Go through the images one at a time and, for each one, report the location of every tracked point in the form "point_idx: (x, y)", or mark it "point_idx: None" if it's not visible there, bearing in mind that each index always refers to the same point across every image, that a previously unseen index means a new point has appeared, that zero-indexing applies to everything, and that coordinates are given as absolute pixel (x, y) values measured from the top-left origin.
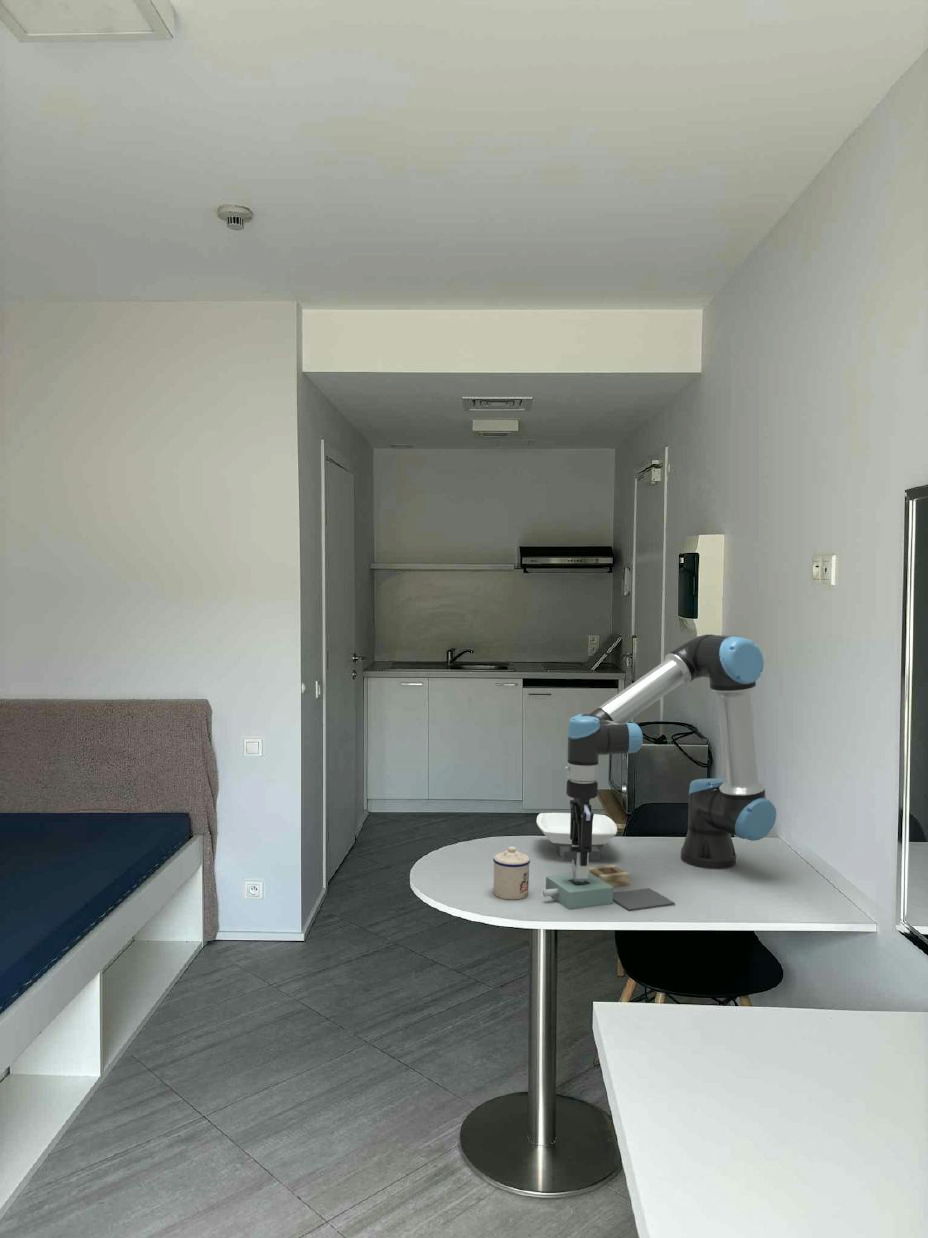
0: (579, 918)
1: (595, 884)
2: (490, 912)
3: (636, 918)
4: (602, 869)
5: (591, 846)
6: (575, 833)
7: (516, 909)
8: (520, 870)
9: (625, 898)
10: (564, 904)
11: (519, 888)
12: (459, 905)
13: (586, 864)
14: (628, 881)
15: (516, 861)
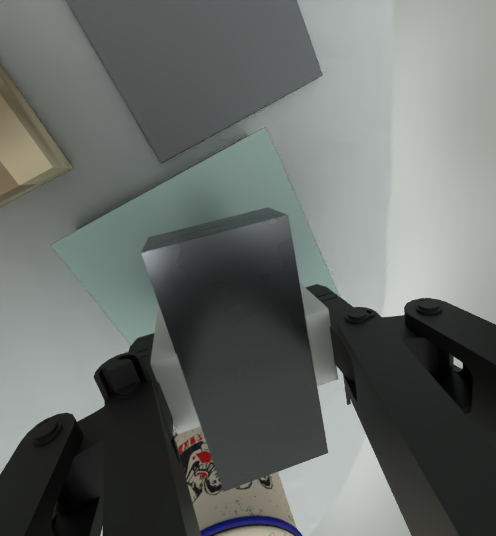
0: (384, 256)
1: (241, 212)
2: (352, 462)
3: (382, 56)
4: None
5: (478, 317)
6: (194, 522)
7: (329, 417)
8: (287, 512)
9: (203, 70)
10: None
11: None
12: (314, 525)
13: (325, 289)
14: None
15: None
